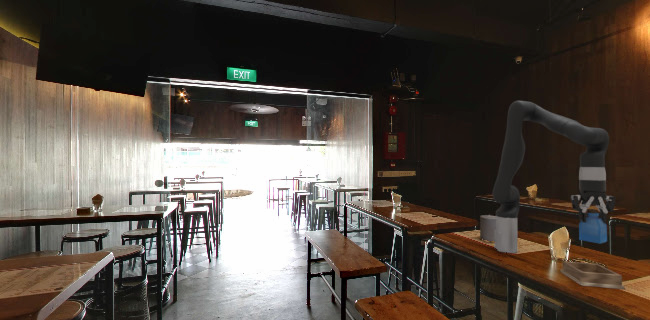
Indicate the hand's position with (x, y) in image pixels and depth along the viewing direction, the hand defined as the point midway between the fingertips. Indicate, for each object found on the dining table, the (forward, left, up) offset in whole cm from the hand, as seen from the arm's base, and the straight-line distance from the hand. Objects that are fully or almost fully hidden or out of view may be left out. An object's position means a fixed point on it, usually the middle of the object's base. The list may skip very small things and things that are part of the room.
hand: (592, 222), depth 109 cm
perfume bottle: (0, 0, -7) cm, 7 cm away
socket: (-2, -2, -22) cm, 22 cm away
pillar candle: (-21, +50, -22) cm, 58 cm away
